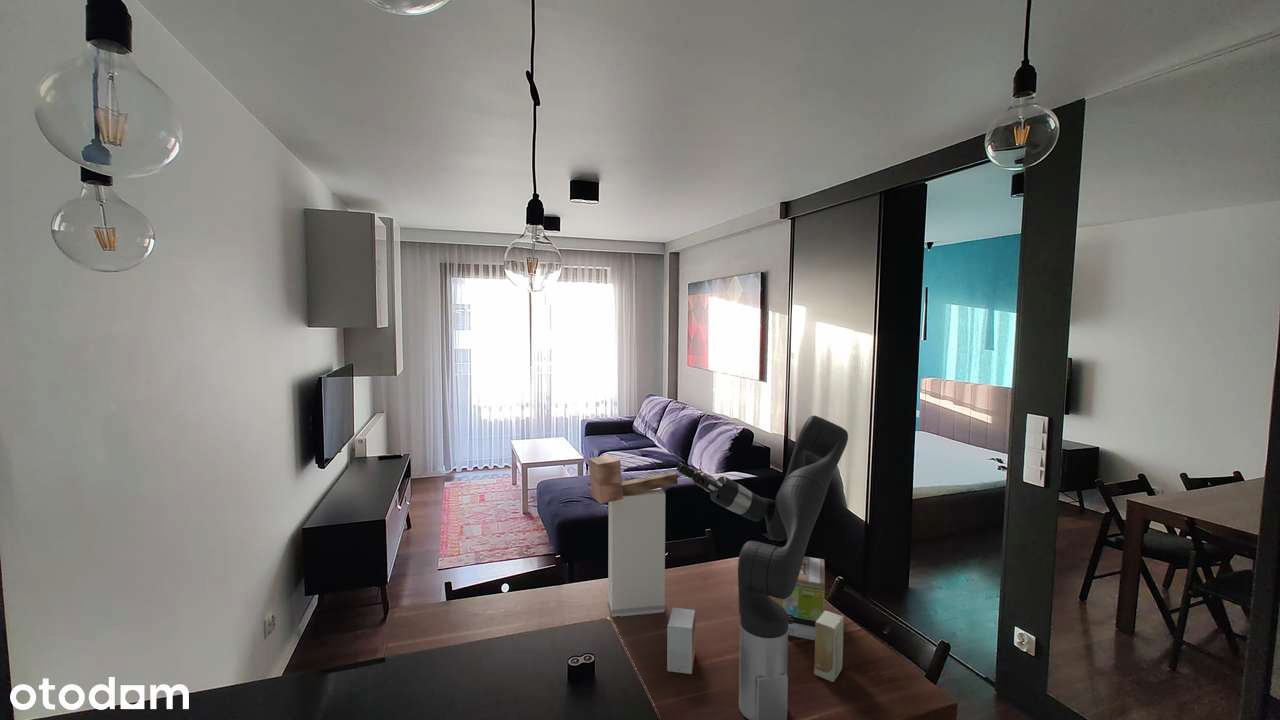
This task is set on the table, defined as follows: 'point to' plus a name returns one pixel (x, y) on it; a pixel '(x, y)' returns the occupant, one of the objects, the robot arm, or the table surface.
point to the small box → (681, 640)
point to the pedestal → (637, 554)
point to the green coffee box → (806, 599)
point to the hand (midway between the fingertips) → (679, 467)
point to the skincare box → (828, 645)
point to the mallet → (610, 483)
